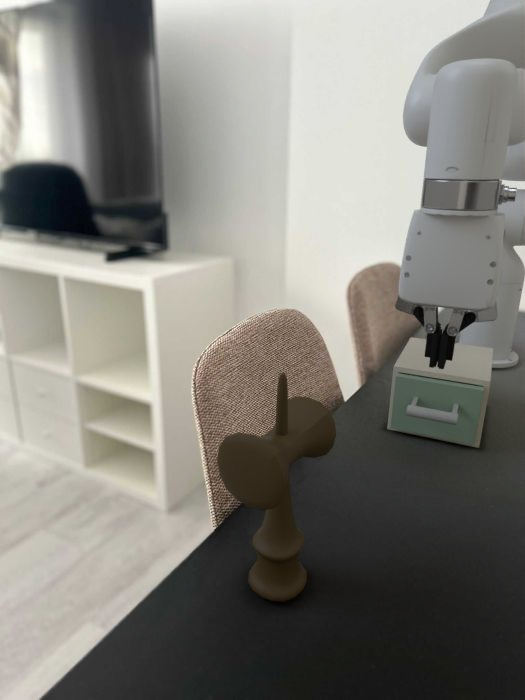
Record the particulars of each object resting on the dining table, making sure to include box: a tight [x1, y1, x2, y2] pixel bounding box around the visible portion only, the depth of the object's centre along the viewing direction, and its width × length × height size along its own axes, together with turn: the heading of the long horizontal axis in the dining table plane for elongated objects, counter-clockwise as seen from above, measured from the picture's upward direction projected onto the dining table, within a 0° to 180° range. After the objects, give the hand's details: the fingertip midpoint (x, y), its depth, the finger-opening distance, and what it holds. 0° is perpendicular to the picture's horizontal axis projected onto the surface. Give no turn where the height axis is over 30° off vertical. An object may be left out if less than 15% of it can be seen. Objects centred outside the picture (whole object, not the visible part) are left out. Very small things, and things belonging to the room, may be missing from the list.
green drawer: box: [390, 373, 484, 445], centre depth 71 cm, size 18×11×8 cm, turn 156°
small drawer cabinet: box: [386, 336, 493, 449], centre depth 74 cm, size 14×12×10 cm
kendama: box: [216, 372, 337, 603], centre depth 42 cm, size 6×10×20 cm, turn 146°
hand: (437, 364), depth 59 cm, fingers closed
